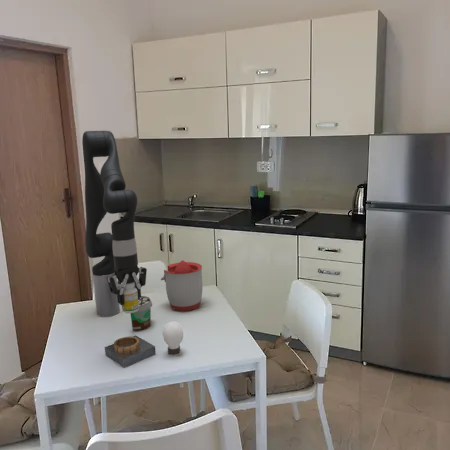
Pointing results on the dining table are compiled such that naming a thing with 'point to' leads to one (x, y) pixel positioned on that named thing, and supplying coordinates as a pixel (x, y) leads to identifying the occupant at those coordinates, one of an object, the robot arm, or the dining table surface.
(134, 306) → the supplement bottle
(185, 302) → the citrus juicer
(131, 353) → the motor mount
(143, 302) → the food container
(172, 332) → the light bulb
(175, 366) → the dining table surface
